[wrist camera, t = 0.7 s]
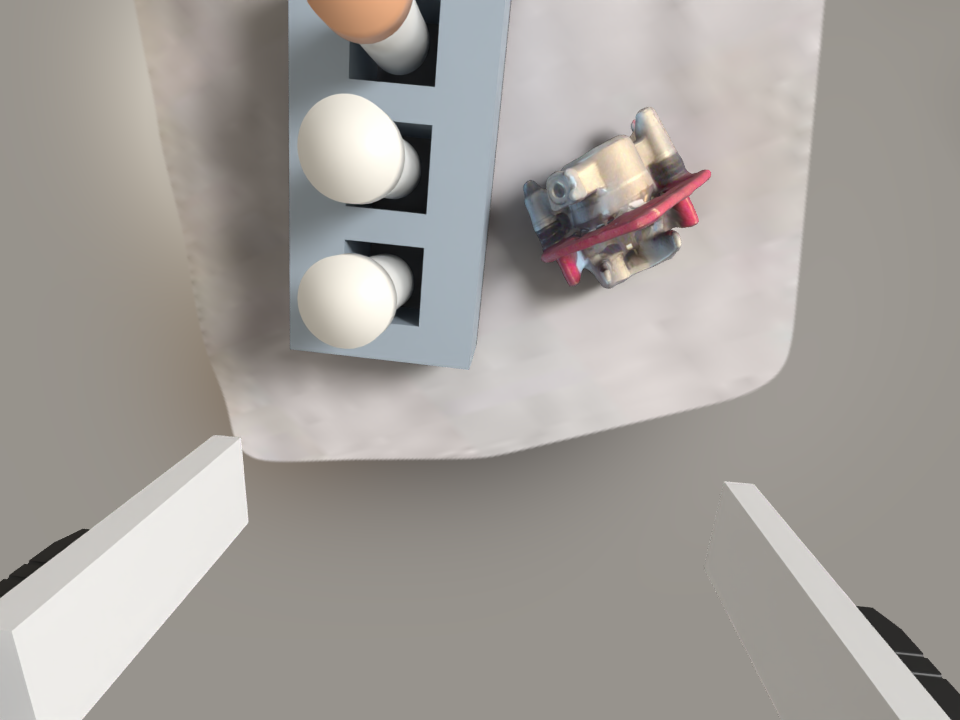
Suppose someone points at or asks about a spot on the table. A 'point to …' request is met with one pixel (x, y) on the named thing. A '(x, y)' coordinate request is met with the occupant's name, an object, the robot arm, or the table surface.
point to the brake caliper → (616, 205)
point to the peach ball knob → (380, 30)
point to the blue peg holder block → (443, 183)
